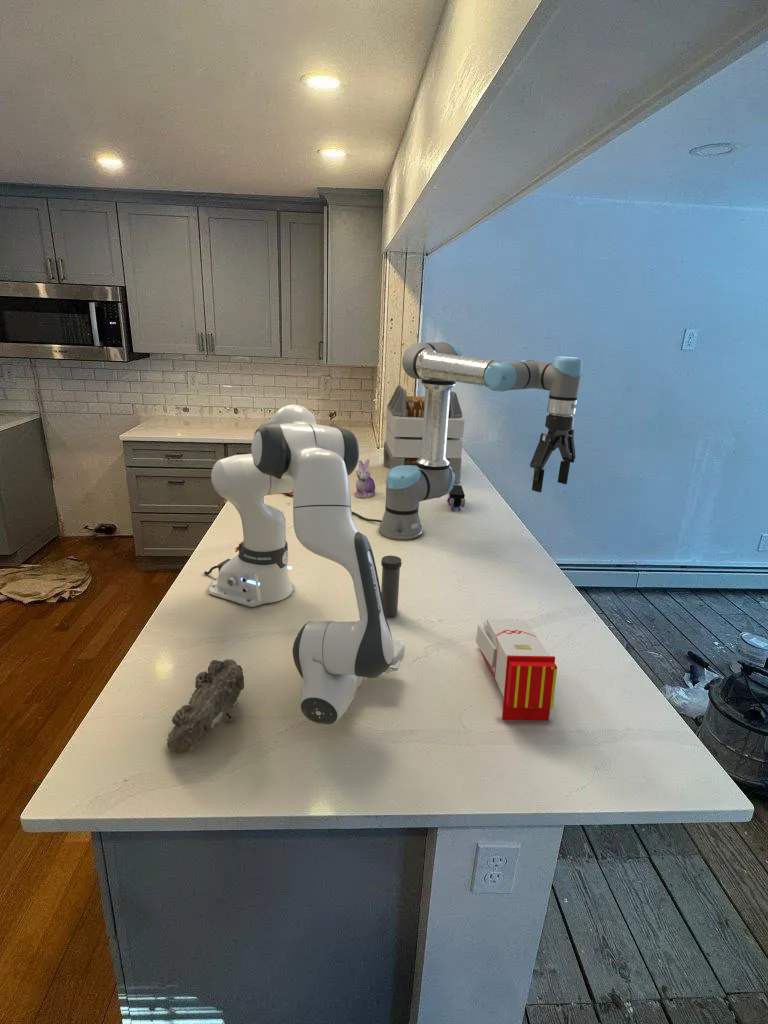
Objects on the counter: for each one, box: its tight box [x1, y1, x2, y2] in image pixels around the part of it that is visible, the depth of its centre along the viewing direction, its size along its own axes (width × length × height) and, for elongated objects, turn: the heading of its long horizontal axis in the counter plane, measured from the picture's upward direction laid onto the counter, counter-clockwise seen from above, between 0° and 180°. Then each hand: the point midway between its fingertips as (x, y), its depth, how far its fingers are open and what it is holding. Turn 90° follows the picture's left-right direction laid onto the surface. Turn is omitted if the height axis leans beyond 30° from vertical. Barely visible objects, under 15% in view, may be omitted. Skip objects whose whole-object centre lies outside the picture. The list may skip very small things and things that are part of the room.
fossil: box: [166, 658, 245, 754], centre depth 106 cm, size 22×10×15 cm
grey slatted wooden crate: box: [383, 384, 465, 484], centre depth 268 cm, size 34×33×41 cm
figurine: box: [355, 459, 376, 499], centre depth 237 cm, size 9×10×15 cm
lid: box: [380, 555, 402, 570], centre depth 143 cm, size 5×5×2 cm
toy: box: [475, 618, 558, 722], centre depth 122 cm, size 12×13×30 cm
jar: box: [380, 566, 401, 618], centre depth 145 cm, size 4×4×15 cm
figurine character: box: [446, 484, 466, 511], centre depth 229 cm, size 7×8×15 cm
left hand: (366, 628), depth 128 cm, fingers open, 8 cm apart
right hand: (549, 487), depth 165 cm, fingers open, 13 cm apart
